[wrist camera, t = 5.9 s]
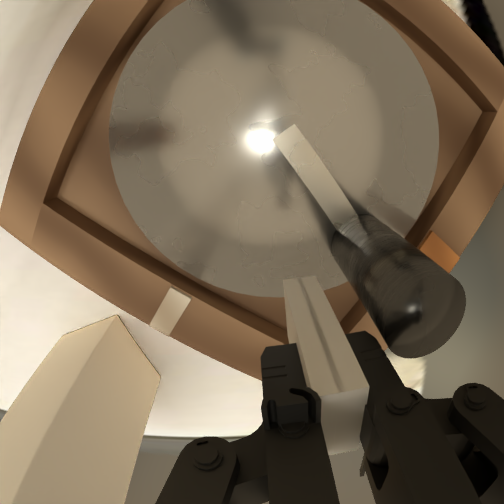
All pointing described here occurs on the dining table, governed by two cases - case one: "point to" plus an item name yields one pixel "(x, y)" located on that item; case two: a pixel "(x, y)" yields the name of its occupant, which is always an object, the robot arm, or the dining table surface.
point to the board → (163, 269)
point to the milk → (78, 421)
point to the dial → (287, 156)
